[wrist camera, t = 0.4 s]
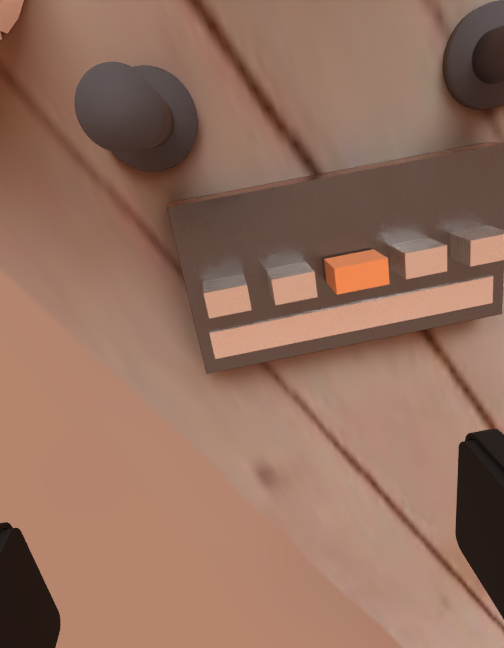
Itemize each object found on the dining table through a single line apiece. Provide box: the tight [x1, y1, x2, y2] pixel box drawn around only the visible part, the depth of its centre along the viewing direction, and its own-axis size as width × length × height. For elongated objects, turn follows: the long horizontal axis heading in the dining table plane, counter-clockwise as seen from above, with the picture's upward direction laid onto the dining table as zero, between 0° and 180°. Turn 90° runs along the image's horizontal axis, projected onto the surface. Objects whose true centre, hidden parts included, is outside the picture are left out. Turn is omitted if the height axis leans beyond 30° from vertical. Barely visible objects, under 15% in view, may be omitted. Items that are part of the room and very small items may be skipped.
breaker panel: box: [167, 143, 504, 374], centre depth 37 cm, size 14×26×6 cm, turn 100°
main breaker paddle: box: [324, 249, 389, 295], centre depth 35 cm, size 2×4×3 cm, turn 100°
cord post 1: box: [75, 62, 198, 172], centre depth 27 cm, size 7×7×15 cm
